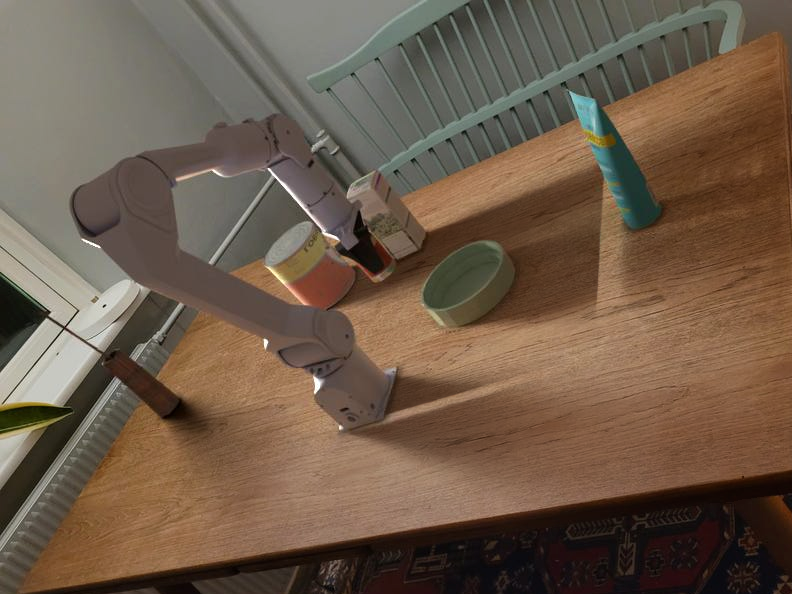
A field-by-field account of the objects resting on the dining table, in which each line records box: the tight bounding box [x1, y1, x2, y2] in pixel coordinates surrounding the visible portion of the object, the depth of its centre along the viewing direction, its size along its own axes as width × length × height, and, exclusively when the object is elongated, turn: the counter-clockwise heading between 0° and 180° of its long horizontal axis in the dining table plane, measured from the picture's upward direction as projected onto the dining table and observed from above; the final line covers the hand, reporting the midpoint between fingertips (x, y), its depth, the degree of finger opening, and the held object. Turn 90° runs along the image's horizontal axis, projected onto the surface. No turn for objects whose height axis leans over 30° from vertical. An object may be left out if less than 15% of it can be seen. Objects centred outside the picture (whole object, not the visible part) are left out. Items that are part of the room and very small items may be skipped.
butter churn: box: [38, 310, 180, 418], centre depth 128 cm, size 9×10×28 cm
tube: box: [566, 88, 662, 230], centre depth 87 cm, size 7×5×19 cm, turn 28°
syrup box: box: [346, 169, 427, 261], centre depth 120 cm, size 6×6×14 cm
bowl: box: [420, 239, 516, 328], centre depth 102 cm, size 14×14×4 cm
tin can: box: [354, 231, 397, 283], centre depth 106 cm, size 5×5×6 cm
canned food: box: [262, 220, 357, 310], centre depth 127 cm, size 11×11×12 cm
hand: (376, 263), depth 106 cm, fingers closed on tin can, 4 cm apart
